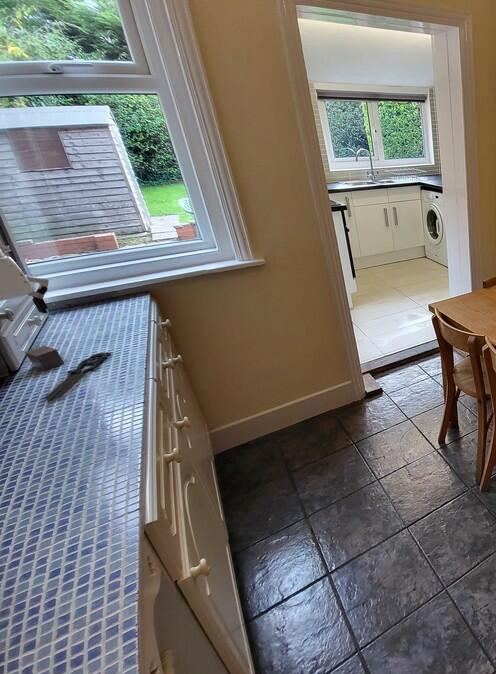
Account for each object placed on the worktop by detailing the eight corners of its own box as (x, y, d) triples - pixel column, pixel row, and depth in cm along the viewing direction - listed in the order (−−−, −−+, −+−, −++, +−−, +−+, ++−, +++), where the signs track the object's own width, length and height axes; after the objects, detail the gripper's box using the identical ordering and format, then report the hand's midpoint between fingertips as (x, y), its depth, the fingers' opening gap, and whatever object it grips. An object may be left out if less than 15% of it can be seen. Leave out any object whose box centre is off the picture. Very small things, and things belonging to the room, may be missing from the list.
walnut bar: (64, 363, 114) (56, 349, 112) (45, 370, 110) (36, 356, 108) (52, 359, 116) (44, 345, 114) (33, 366, 113) (24, 352, 111)
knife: (58, 405, 95) (55, 400, 94) (24, 410, 94) (21, 405, 93) (119, 354, 117) (117, 349, 117) (92, 358, 116) (90, 353, 115)
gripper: (23, 246, 108) (56, 306, 115) (-82, 264, 94) (-37, 331, 101) (35, 247, 105) (68, 309, 112) (-71, 266, 91) (-26, 335, 98)
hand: (18, 319), depth 107 cm, fingers open, 9 cm apart
